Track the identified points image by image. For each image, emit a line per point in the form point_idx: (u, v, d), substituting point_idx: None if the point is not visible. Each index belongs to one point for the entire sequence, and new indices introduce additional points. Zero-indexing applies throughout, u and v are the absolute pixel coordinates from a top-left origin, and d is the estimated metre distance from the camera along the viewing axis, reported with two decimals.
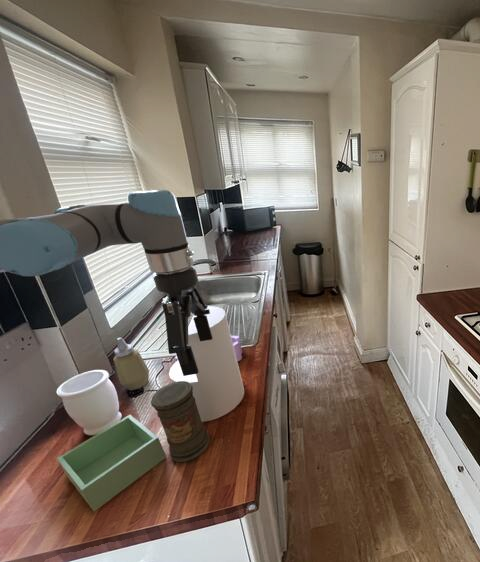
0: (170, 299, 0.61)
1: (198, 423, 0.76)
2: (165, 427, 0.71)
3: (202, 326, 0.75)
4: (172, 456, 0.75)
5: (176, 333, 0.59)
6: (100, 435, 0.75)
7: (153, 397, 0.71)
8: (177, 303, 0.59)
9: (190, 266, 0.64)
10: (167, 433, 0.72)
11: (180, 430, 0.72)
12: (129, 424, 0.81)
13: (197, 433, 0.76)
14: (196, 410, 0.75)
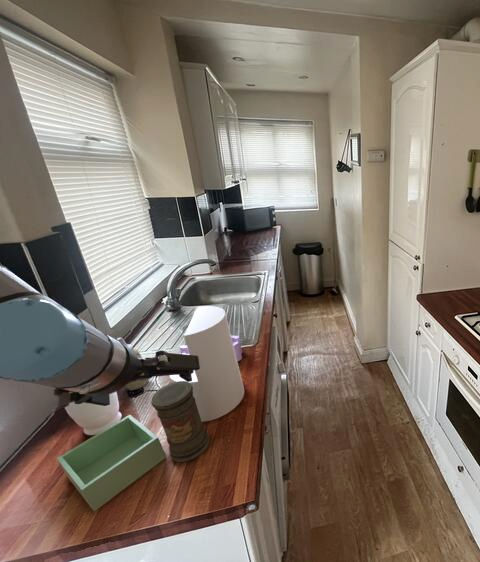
0: None
1: (198, 422, 0.76)
2: (165, 427, 0.71)
3: None
4: (172, 456, 0.75)
5: None
6: (100, 435, 0.75)
7: (153, 397, 0.71)
8: (57, 393, 0.43)
9: None
10: (167, 433, 0.72)
11: (180, 430, 0.72)
12: (129, 424, 0.81)
13: (197, 433, 0.76)
14: (196, 410, 0.75)
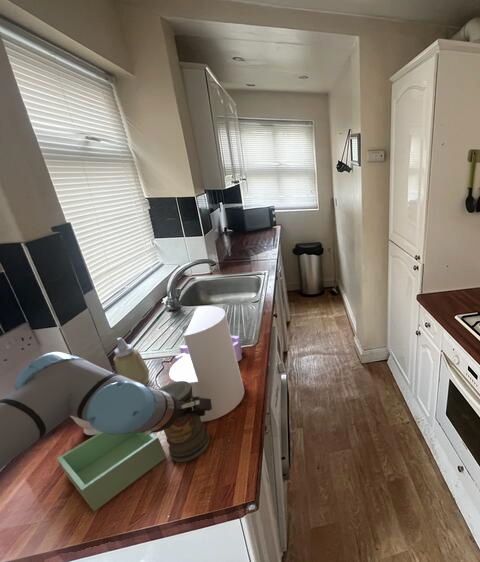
0: None
1: (198, 422, 0.76)
2: None
3: None
4: (172, 456, 0.75)
5: None
6: (100, 435, 0.75)
7: None
8: None
9: None
10: (167, 433, 0.72)
11: (179, 430, 0.72)
12: None
13: (197, 433, 0.76)
14: None
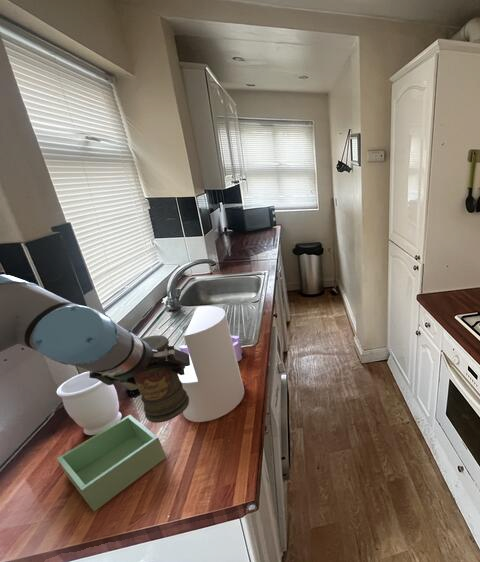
0: None
1: (175, 380, 0.70)
2: (137, 382, 0.66)
3: None
4: (147, 416, 0.70)
5: None
6: (100, 435, 0.75)
7: None
8: (91, 377, 0.56)
9: None
10: (140, 389, 0.67)
11: (154, 386, 0.67)
12: (129, 424, 0.81)
13: (174, 391, 0.70)
14: None
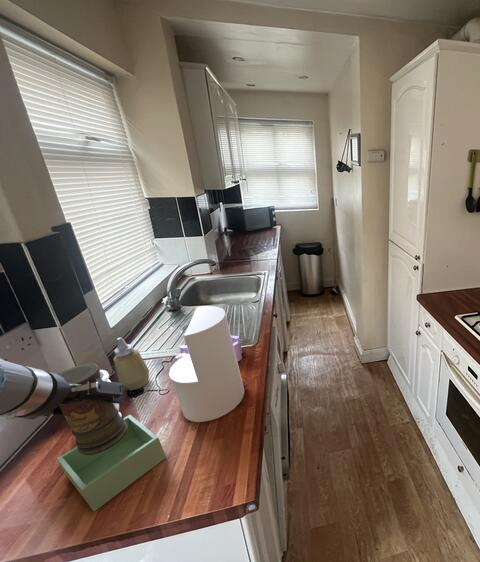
0: None
1: (108, 410, 0.68)
2: (64, 414, 0.63)
3: None
4: (78, 448, 0.67)
5: None
6: None
7: None
8: None
9: None
10: (68, 421, 0.64)
11: (82, 418, 0.64)
12: (129, 424, 0.81)
13: (107, 422, 0.67)
14: None
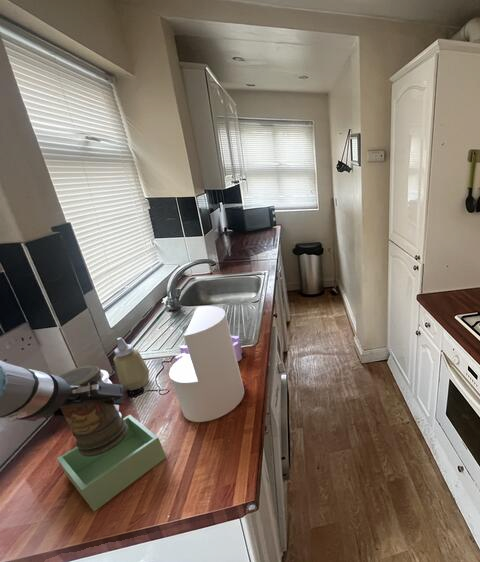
0: None
1: (109, 412, 0.68)
2: (65, 416, 0.63)
3: None
4: (79, 449, 0.67)
5: None
6: None
7: None
8: None
9: None
10: (69, 423, 0.64)
11: (83, 420, 0.64)
12: (129, 424, 0.81)
13: (108, 424, 0.67)
14: None
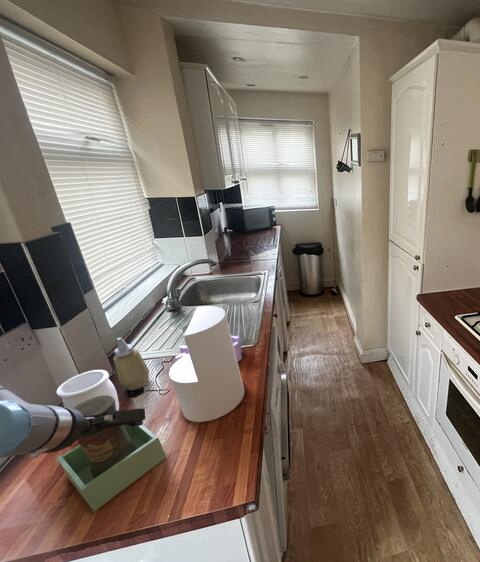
0: None
1: (122, 440, 0.71)
2: (81, 445, 0.66)
3: None
4: (94, 476, 0.70)
5: None
6: None
7: None
8: None
9: None
10: (85, 452, 0.67)
11: (98, 449, 0.67)
12: None
13: (121, 451, 0.71)
14: (120, 426, 0.70)
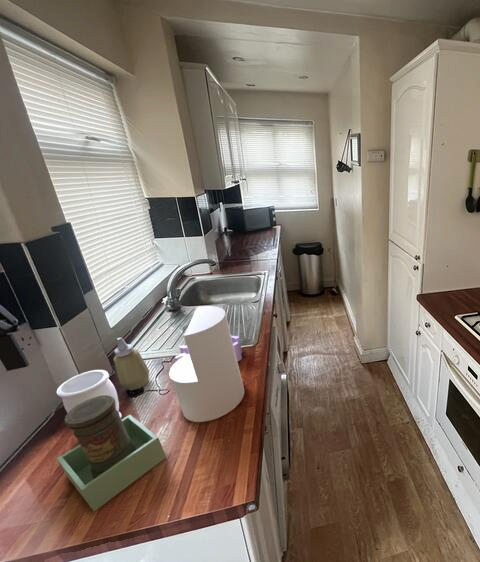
0: None
1: (122, 440, 0.71)
2: (81, 445, 0.66)
3: (7, 349, 0.53)
4: (94, 476, 0.70)
5: None
6: None
7: (68, 414, 0.66)
8: None
9: None
10: (85, 452, 0.67)
11: (98, 449, 0.67)
12: (129, 424, 0.81)
13: (121, 451, 0.71)
14: (120, 426, 0.70)
